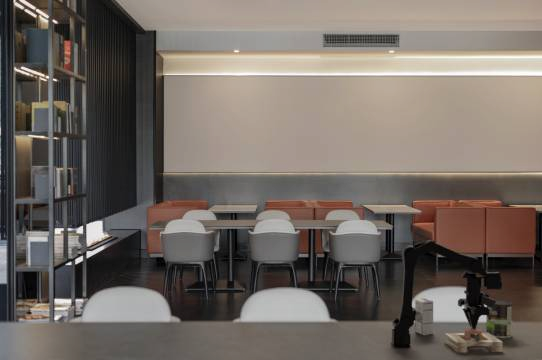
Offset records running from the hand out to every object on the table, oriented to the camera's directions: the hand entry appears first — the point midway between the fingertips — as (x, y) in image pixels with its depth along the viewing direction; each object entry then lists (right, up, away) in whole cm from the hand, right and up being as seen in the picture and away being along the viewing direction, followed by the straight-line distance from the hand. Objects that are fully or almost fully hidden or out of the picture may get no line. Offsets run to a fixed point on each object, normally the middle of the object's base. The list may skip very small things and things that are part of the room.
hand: (473, 328), depth 258 cm
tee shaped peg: (0, -5, 0) cm, 5 cm away
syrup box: (-14, -7, +21) cm, 27 cm away
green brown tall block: (+17, -7, +19) cm, 27 cm away
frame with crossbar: (0, -8, 0) cm, 8 cm away
